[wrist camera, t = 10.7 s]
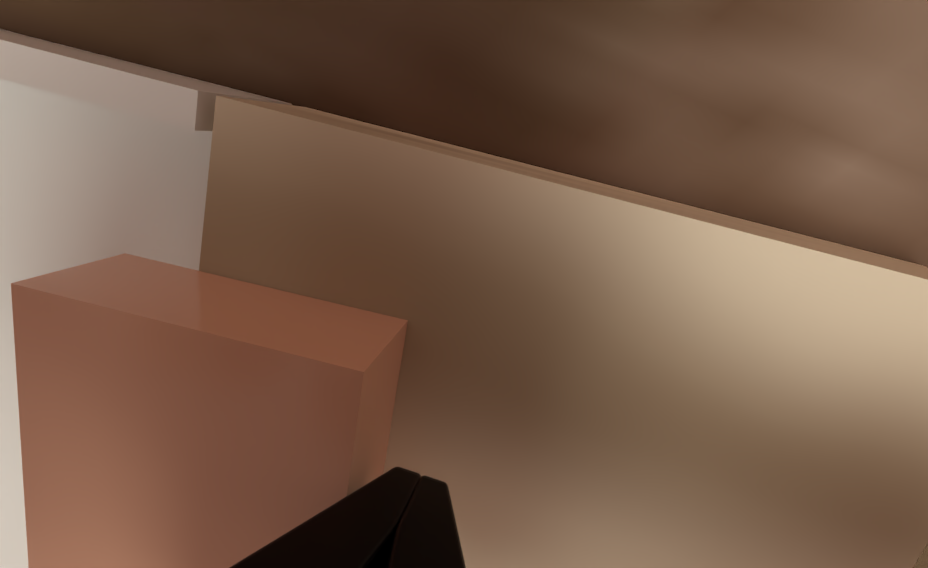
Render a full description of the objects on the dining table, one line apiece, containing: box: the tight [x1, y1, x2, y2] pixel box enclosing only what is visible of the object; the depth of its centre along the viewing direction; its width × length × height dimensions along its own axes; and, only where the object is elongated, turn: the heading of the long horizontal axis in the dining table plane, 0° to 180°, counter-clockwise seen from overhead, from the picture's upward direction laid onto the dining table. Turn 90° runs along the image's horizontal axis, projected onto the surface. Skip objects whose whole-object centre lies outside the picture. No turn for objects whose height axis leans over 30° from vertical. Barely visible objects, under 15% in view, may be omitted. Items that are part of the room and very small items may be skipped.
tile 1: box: [11, 253, 408, 568], centre depth 9 cm, size 5×5×2 cm
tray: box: [0, 29, 292, 568], centre depth 13 cm, size 20×9×3 cm, turn 166°
